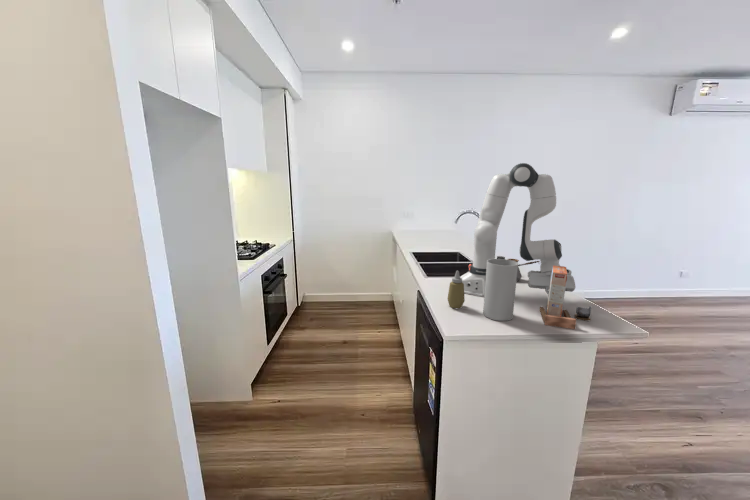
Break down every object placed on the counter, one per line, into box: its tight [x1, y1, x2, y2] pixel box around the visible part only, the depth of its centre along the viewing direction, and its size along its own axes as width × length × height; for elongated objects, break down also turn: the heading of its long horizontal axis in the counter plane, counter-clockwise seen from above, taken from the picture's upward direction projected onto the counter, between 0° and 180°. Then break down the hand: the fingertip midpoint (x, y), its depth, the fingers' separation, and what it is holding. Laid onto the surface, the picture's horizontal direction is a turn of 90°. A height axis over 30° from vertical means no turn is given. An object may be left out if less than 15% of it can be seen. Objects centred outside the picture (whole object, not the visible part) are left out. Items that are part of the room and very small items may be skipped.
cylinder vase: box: [482, 258, 519, 322], centre depth 135 cm, size 12×12×25 cm
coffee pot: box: [506, 258, 541, 282], centre depth 184 cm, size 21×12×15 cm, turn 42°
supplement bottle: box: [496, 255, 506, 259], centre depth 199 cm, size 7×7×12 cm
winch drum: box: [573, 305, 592, 322], centre depth 133 cm, size 6×4×6 cm
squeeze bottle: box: [447, 270, 466, 309], centre depth 146 cm, size 8×8×18 cm
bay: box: [539, 306, 577, 330], centre depth 133 cm, size 11×16×4 cm
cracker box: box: [546, 265, 568, 317], centre depth 139 cm, size 14×6×21 cm, turn 150°
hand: (551, 296), depth 147 cm, fingers closed
